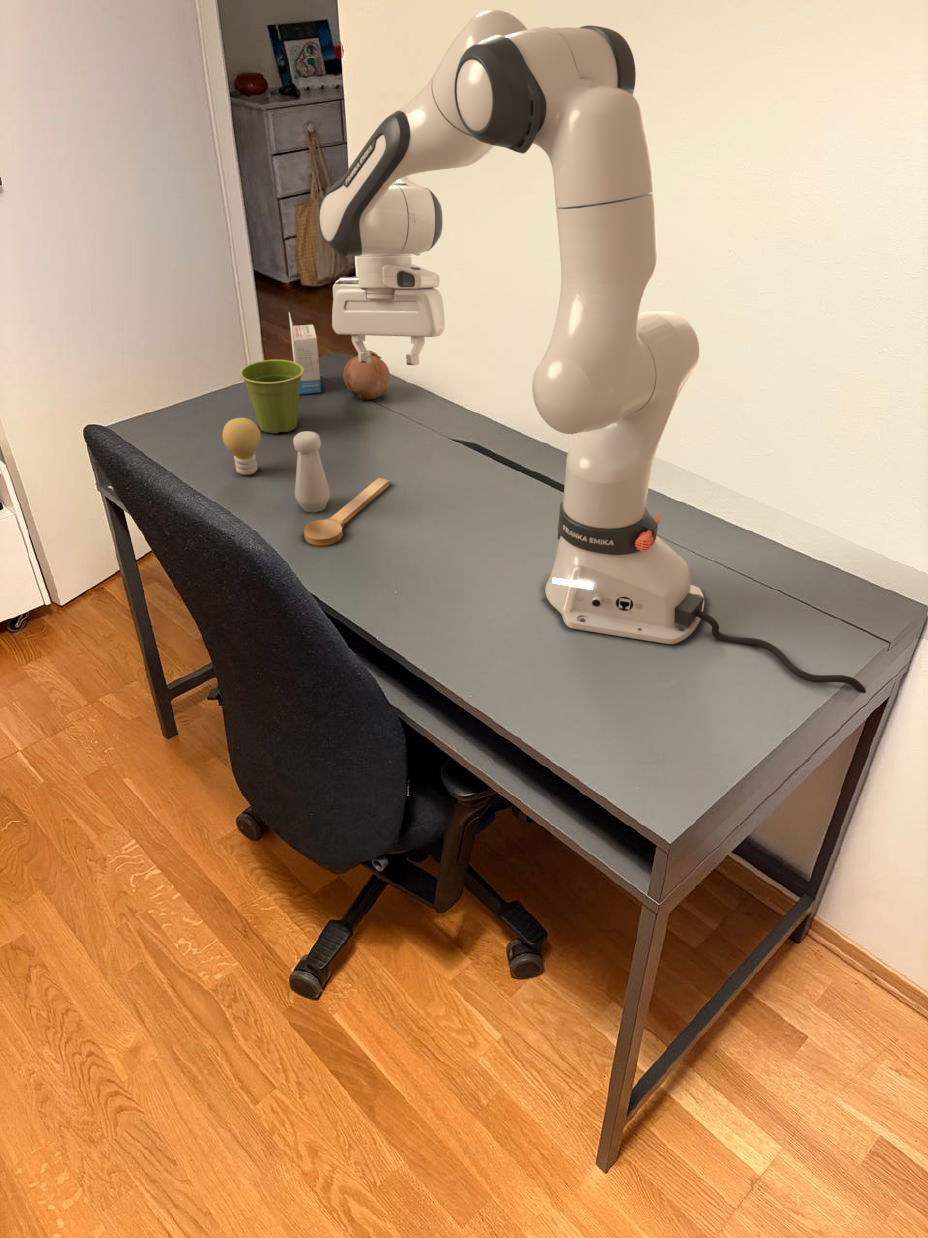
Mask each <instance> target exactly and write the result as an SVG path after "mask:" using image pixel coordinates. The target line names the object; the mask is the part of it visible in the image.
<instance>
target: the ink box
mask: <svg viewBox="0 0 928 1238" xmlns="http://www.w3.org/2000/svg"><path fill="white" fill-rule="evenodd" d="M288 318H289V328H290V339H291V350H292V358H293V362H296V363H298V364H300V365H301V366H302V367H303V368H304V373H303V374H302V376H301V384H300V386H299V395H307V394H318V393H319V394H320V393H322V383H321V373H320V370H321V369H320V361H319V348H318V338H317V333H316V329H315V326H314V324H303V325H293V321H292V317H291V313H290V311H288Z"/></svg>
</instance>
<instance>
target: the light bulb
mask: <svg viewBox="0 0 928 1238" xmlns="http://www.w3.org/2000/svg"><path fill="white" fill-rule="evenodd" d="M260 431H261V430H260V427H259V426H258V424H256V423H255V422H254V421H253V420H251V419H250V418H246V417H236V418H233V419H230V420H229V421H227V422H226V423H225V425H224V427H223V430H222V441H223V444H224V446H225V447H226V449H227V450H229V452H230V453H232V454H233V461H234V466H235V471H236V473H238V474H240V475H242V476H250V475H253V474H254V473H256V472H257V471H258V463H257V456H256V451H257V449H258V448H259V446H260V443H261V439H262V438H261V437H262V436H261V432H260Z"/></svg>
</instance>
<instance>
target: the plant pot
mask: <svg viewBox="0 0 928 1238" xmlns="http://www.w3.org/2000/svg"><path fill="white" fill-rule="evenodd" d="M303 373H304V368H303V367H302V366H301V365H300V364H298V363H296V362H294V360H293V361H292V360H287V359H264V360H258V361H255V362H252V363H249V364H246V365H244V366H243V367H242V368H241V369H240V370H239V377H240V378H241V379H242V380H243V381H244V384H245V387H246V389H247V391H248V394H249V398H250V401H251V404H252V407H253V411H254V414H255V417H256V422H257V425H258V428H259V430H260V431H262V432H264V433H267V434H279V433H281V432H283V433H288V432H292V431H293V430H294V429H296V427H298V417H299V415H298V414H299V400H300V399H299V398H300V394H299V386H300V384H301V376H302V374H303Z"/></svg>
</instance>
